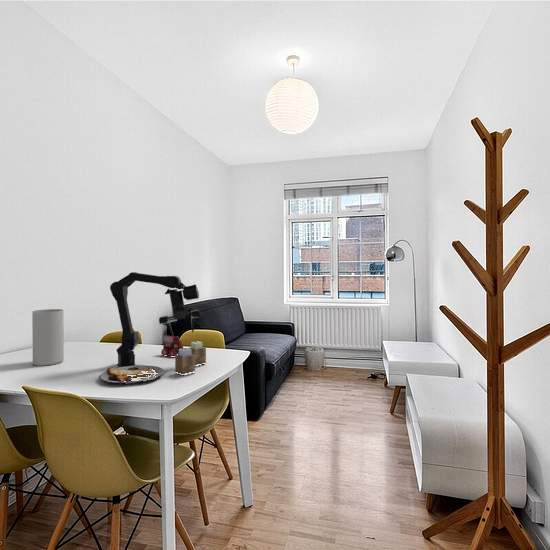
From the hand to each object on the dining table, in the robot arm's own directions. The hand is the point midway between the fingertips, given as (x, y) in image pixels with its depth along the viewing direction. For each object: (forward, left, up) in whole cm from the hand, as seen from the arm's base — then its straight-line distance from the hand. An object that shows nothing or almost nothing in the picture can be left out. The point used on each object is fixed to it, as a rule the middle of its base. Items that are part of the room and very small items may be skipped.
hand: (182, 334), depth 170 cm
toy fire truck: (+6, +18, -15) cm, 24 cm away
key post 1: (+4, -5, -14) cm, 16 cm away
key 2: (-8, -13, -12) cm, 19 cm away
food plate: (-26, -2, -15) cm, 30 cm away
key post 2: (-8, -13, -14) cm, 21 cm away
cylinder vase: (-42, +49, -14) cm, 66 cm away
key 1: (+4, -5, -12) cm, 13 cm away
